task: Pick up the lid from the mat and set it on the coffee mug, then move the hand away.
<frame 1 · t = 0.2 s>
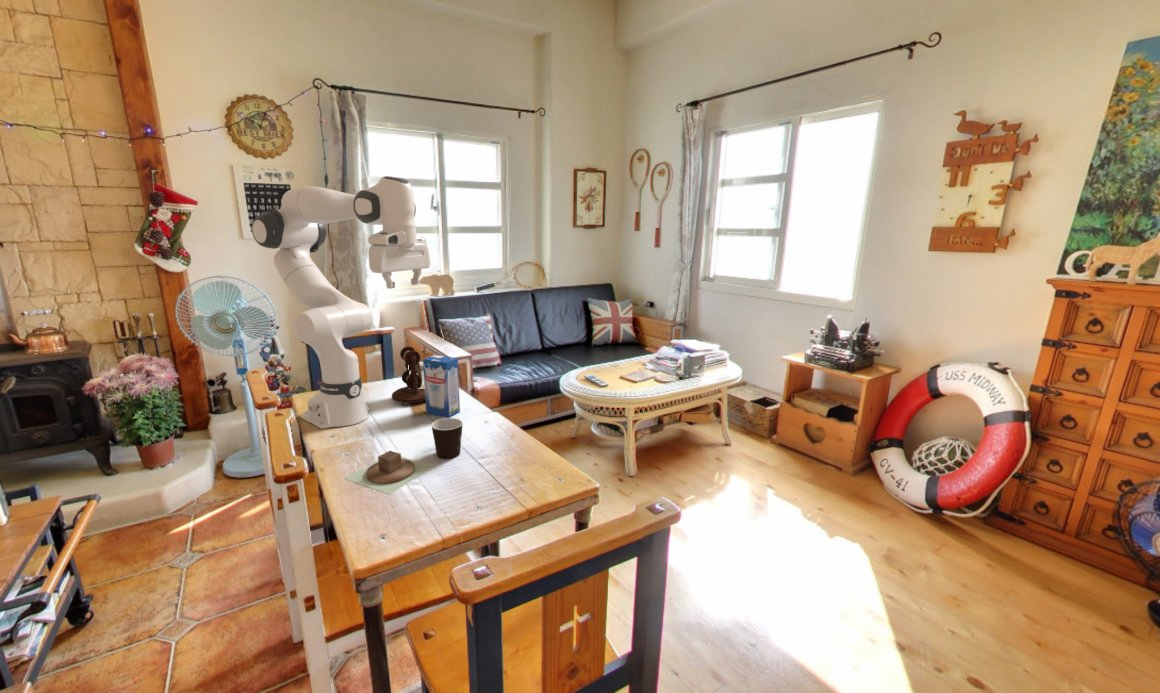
hand: (403, 286, 139), 47 cm above the table, tool pointing down, fingers open, 8 cm apart
mat: (391, 474, 129), on the table
lid: (390, 472, 129), point 1 cm above the table, touching mat
milk carton: (443, 413, 171), on the table
dark brown tall piece: (413, 399, 184), on the table
coffee mug: (451, 454, 142), on the table
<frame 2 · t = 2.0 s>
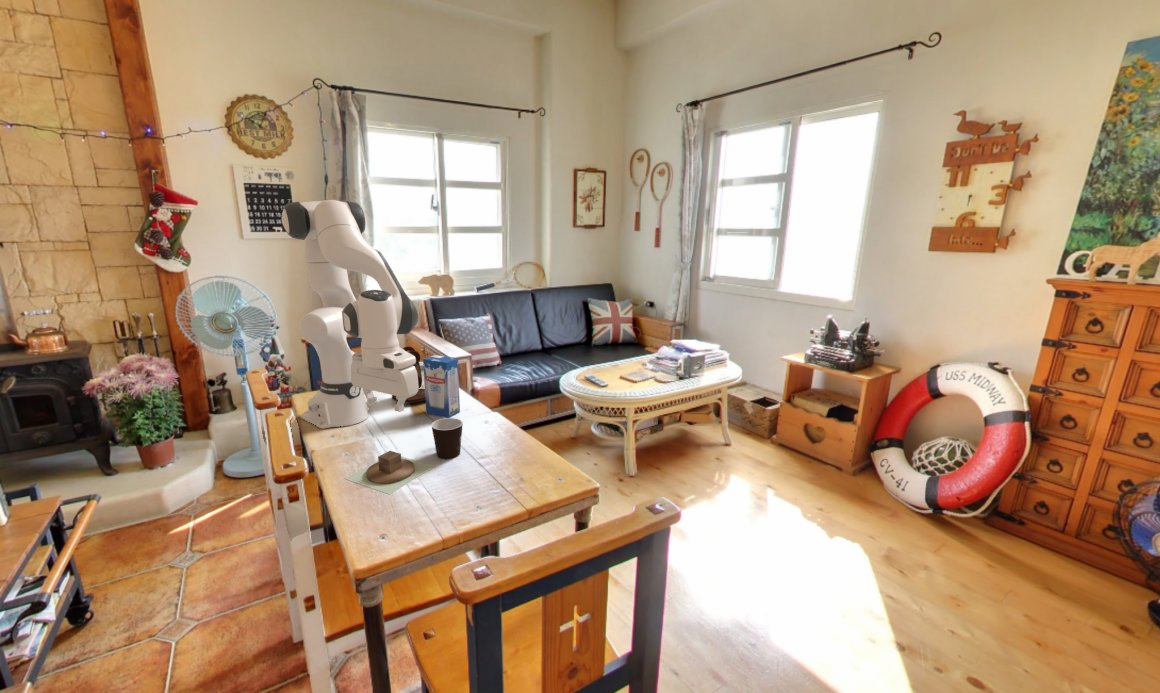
hand: (385, 407, 125), 19 cm above the table, tool pointing down, fingers open, 8 cm apart
nothing on the table moved.
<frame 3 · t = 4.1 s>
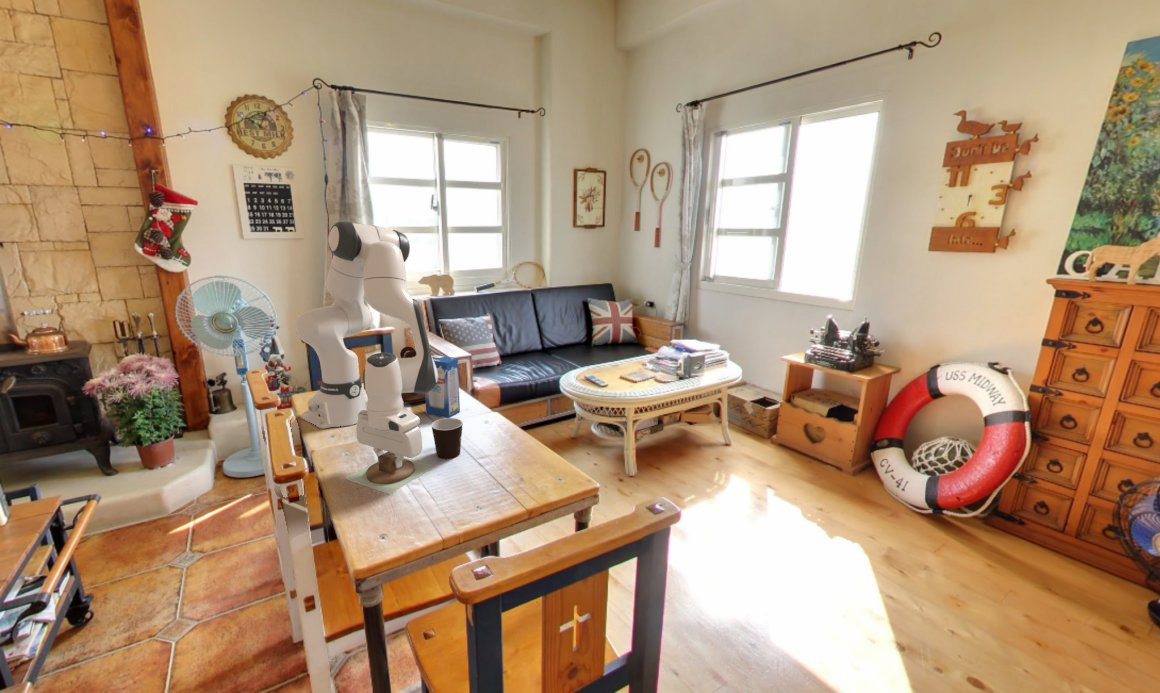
hand: (390, 464, 129), 3 cm above the table, tool pointing down, fingers closed on lid, 4 cm apart
lid: (390, 472, 129), point 1 cm above the table, touching gripper, mat
everything else where it was.
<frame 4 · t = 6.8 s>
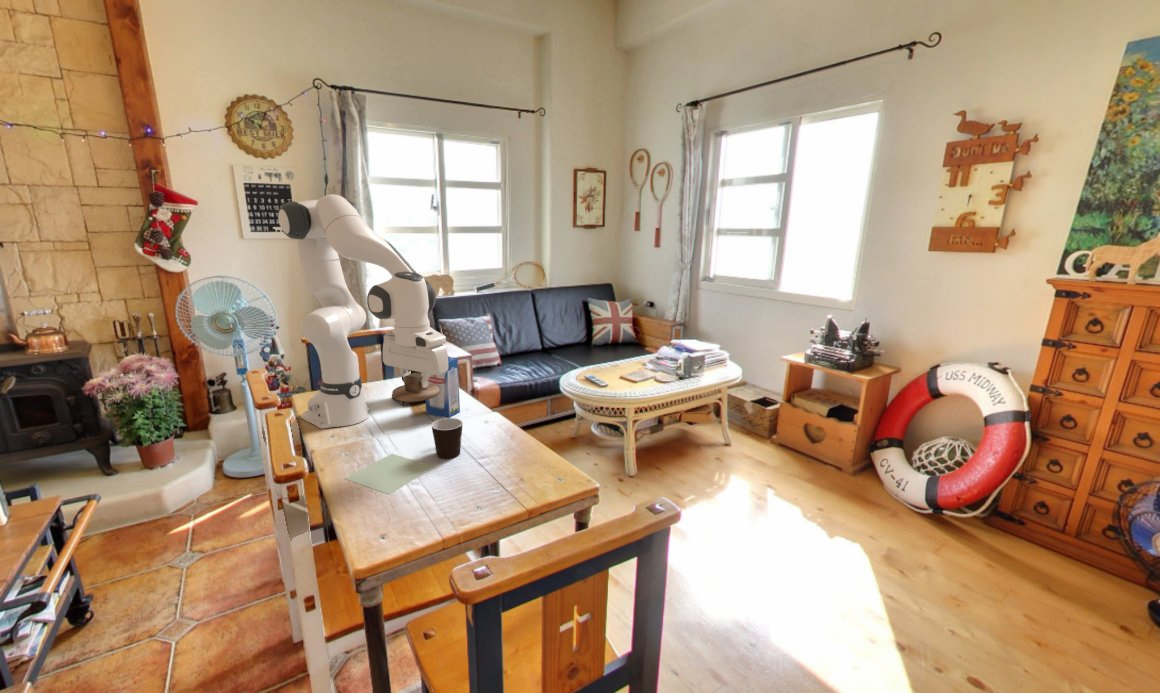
hand: (416, 385, 129), 23 cm above the table, tool pointing down, fingers closed on lid, 4 cm apart
lid: (416, 393, 130), point 21 cm above the table, touching gripper
everything else where it was.
when the fingers open (14 cm above the table, at t = 9.5 s): lid drops 1 cm, resting on coffee mug.
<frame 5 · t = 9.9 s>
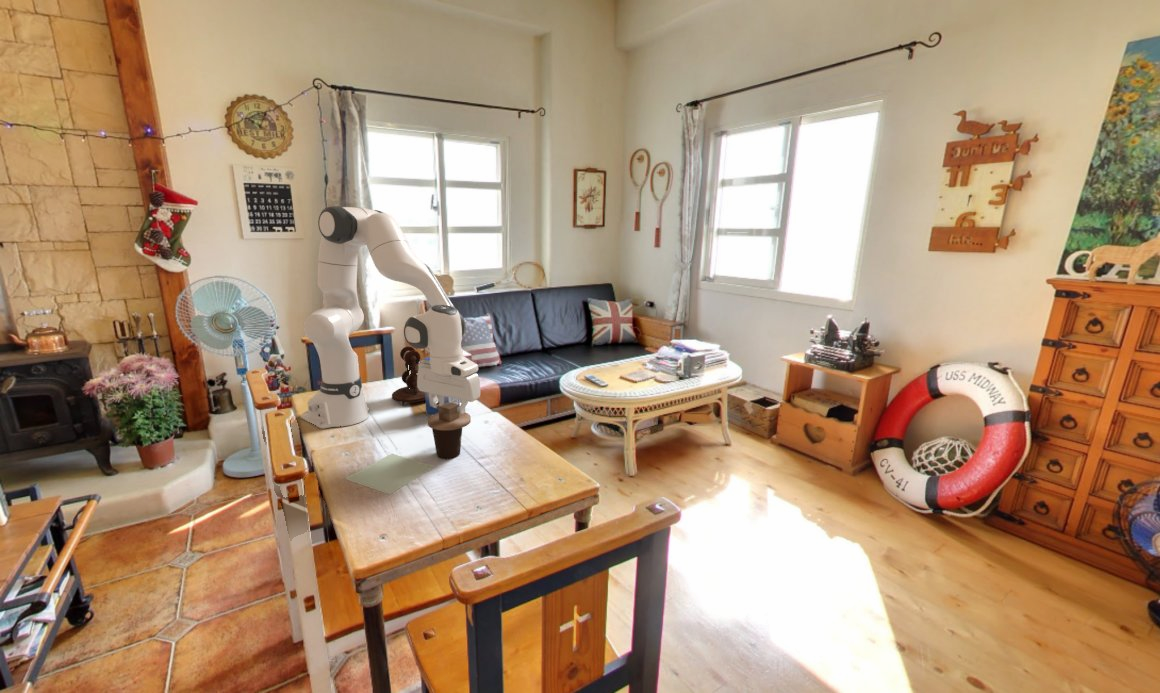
hand: (448, 410, 138), 14 cm above the table, tool pointing down, fingers open, 8 cm apart
lid: (449, 421, 139), point 10 cm above the table, touching coffee mug
coffee mug: (451, 454, 142), on the table, touching lid
everything else where it was.
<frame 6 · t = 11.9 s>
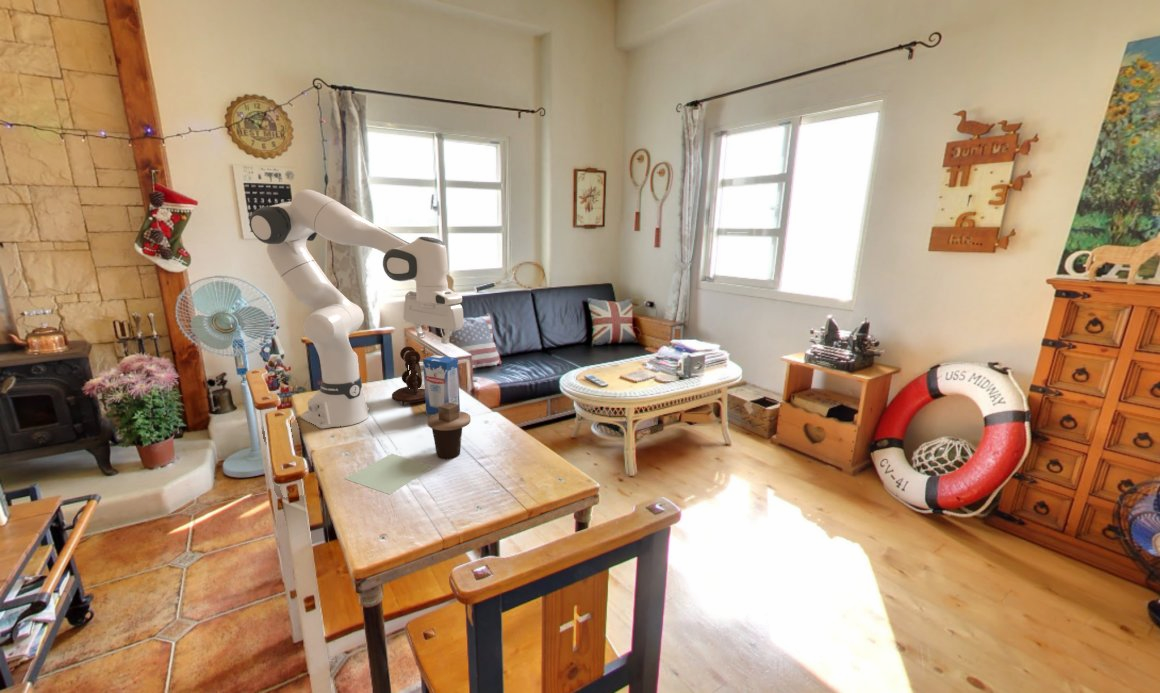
hand: (432, 340, 144), 31 cm above the table, tool pointing down, fingers open, 8 cm apart
nothing on the table moved.
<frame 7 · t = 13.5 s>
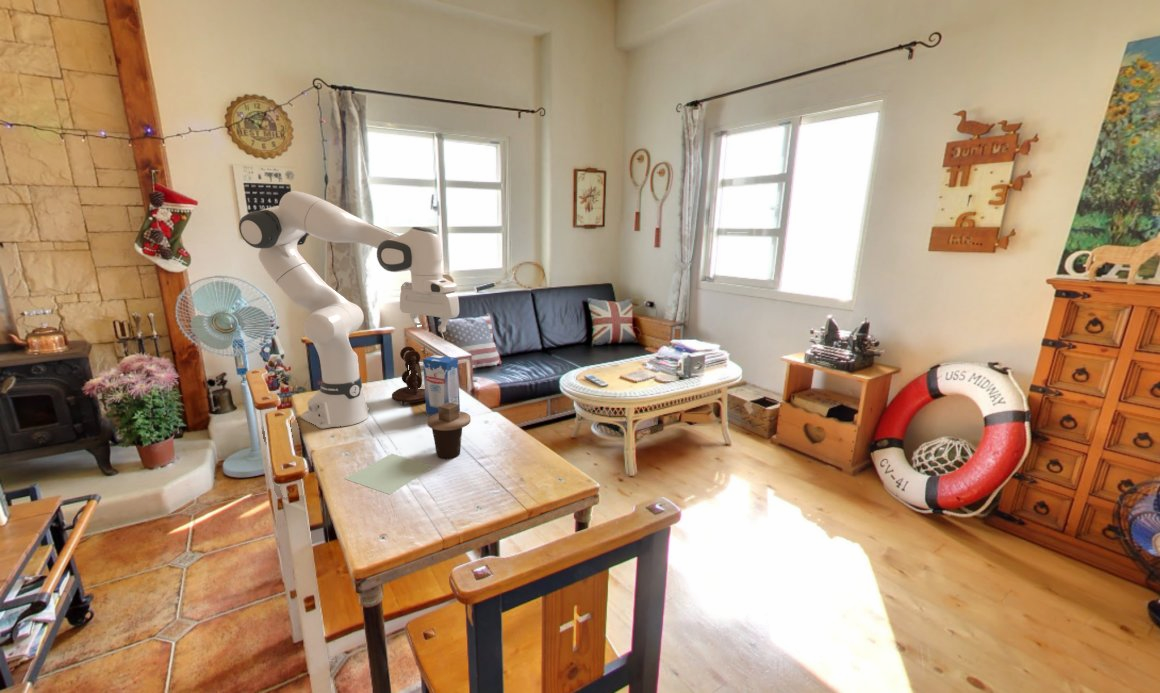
hand: (430, 329, 146), 34 cm above the table, tool pointing down, fingers open, 8 cm apart
nothing on the table moved.
at the end: lid inside the target area on the coffee mug (0.1 cm from its centre), point 10.2 cm above the coffee mug's base; lid tilted 0°; coffee mug tilted 0° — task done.
